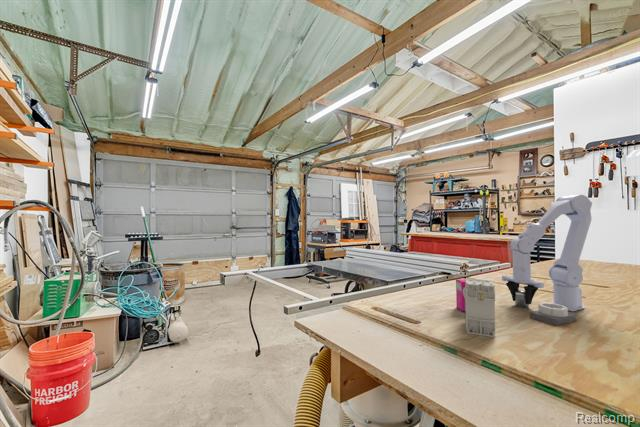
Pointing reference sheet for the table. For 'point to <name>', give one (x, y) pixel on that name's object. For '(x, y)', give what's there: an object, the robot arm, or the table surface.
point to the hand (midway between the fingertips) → (521, 302)
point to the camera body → (552, 314)
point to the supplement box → (460, 294)
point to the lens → (520, 299)
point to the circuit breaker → (480, 307)
